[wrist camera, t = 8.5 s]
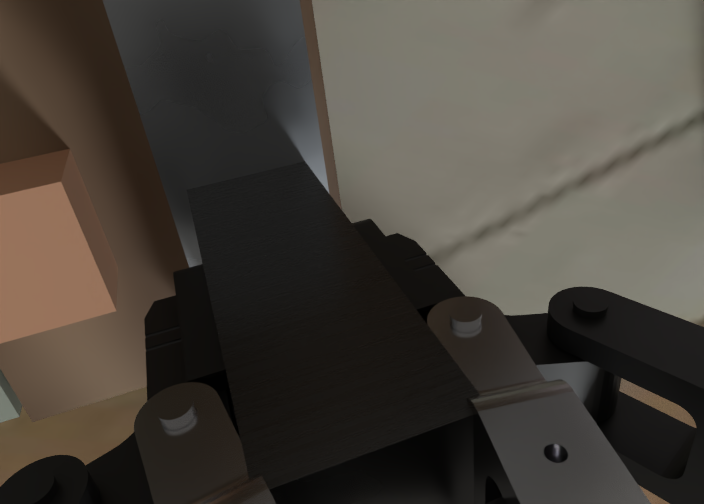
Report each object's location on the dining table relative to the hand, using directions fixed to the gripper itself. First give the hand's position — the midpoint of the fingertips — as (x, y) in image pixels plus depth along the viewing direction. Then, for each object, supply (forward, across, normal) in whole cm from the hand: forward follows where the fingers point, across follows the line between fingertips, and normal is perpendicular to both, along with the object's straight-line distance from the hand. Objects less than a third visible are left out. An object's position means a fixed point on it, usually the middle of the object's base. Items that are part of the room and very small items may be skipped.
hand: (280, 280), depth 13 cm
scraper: (+6, 0, 0) cm, 6 cm away
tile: (+6, +6, 0) cm, 9 cm away
